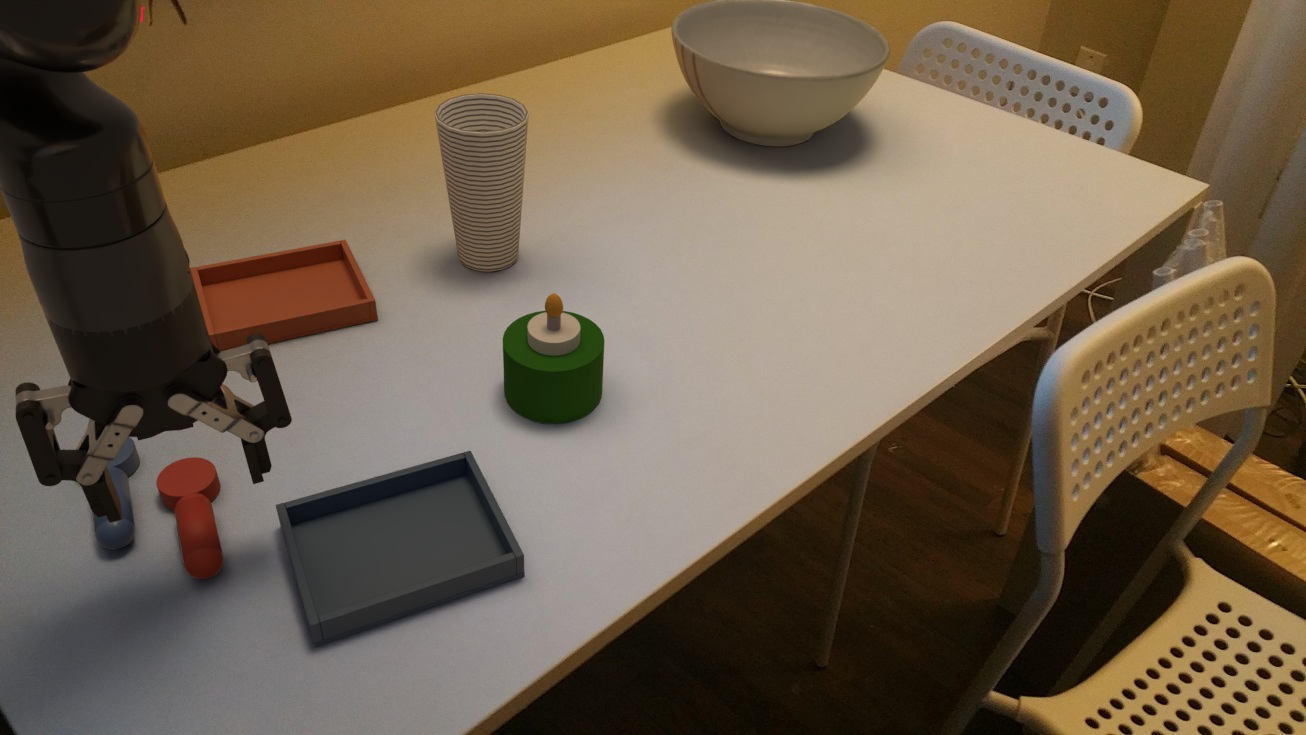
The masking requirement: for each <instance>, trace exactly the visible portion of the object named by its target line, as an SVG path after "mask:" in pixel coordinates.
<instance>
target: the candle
mask: <svg viewBox="0 0 1306 735" xmlns="http://www.w3.org/2000/svg"><path fill="white" fill-rule="evenodd" d="M502 360H503V361H502V362H503V388H504V398H505V402H506V403H507V405H508V406H509V408H510V409H511V410H512V411H513V412H514V413H516V414H517V415H519V416H521V417H523V418H525V419H527V420H529V421H532V422H535V423H540V424H554V425H555V424H564V423H565V424H566V423H570V422H574V421H577V420H580V419H582V418H584V417H586V416H588V415H590V414H591V413H592V412H593V411H595V410H596V408H597V407H598V405H599V404H600V402H601V399H602V397H603V396H602V395H603V382H604V381H603V380H604V360H605V336H604V333H603V331H602V329H601V328H600V327H599V326H598V324H596V323H595V322H594V321H592V320H591V319H590V318H588V317H586V316H584V315H581V314H579V313H575V312H573V311H567V310H564V304H563V301H562V298H561V297H560V295H558V294H557V293H554V292H553V293H551V294H549V295H548V296H547V298H546V300H545V303H544V310H540V311H534V312H531V313H527V314H525V315H522V316H521V317H518V318H517V319H514V321H512V322H511V323H510V324H509V325H508V326H507V327H506V329H505V331H504V332H503V336H502Z"/></svg>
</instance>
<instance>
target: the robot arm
mask: <svg viewBox="0 0 1306 735" xmlns="http://www.w3.org/2000/svg"><path fill="white" fill-rule="evenodd" d="M141 16H142V0H0V193H1V195H2V198H3V200H4V202H5V205H6V208H7V210H8V213H9V216H10V218H11V220H12V223H13V225H14V227H15V229H16V233H17V236H18V239H19V243H20V247H21V250H22V256H23V261H24V265H25V269H26V271H27V275H28V277H29V279H30V282H31V284H32V287H33V290H34V293H35V294H36V297H37V300H38V302H39V304H40V307H41V309H42V312H43V314H44V317H45V319H46V322H47V324H48V327H49V329H50V331H51V335H52V336H53V340H54V341H55V344H56V347H57V349H58V351H59V354H60V356H61V359H62V361H63V364H64V367H65V369H66V371H67V374H68V376H69V380H68V382H67V385H62V386H56V387H50V388H44V389H41V387H40V386H39V385H37V384H36V383H34V382H30V381H29V382H27V381H26V382H22V383H20V384H18V385H17V386H16V388H15V396H14V397H15V420H16V423H17V426H18V429H19V431H20V434H21V437H22V439H23V442H24V445H25V447H26V450H27V453H28V456H29V458H30V462H31V464H32V467H33V469H34V472H35V476H36V477H37V481H38V482H39V484H41V486H44V487H55V486H57V485H59V484H60V483H61V482H62V481H71V482H75V483H77V484H78V485H79V486H80V487H81V489H82V492H83V494H84V496H85V499H86V501H87V503H88V505H89V508H90V510H91V512H92V514H93V513H94V514H95V515H96V516H97V517H103V516H107V518H108V520H109V522H110V523H111V522H115V521H119V520H122V511H121V503H120V499H119V495H118V493H117V490H116V488H115V485H114V483H113V480H112V478H111V475H110V473H109V471H108V468H107V465H108V463H109V461H110V460H114V459H115V458H116V456H117V454H118V453H119V451H120V449H121V448H122V446H123V444H124V443H125V441H126V439H127V438H128V437H130V438H137V441H142V440H147V439H150V438H154V437H156V436H158V435H161V434H162V433H164V432H175V431H182V430H188V429H191V428H194V427H195V426H194V424H195V423H196V422H200V423H202V424H204V425H205V426H208V427H210V428H212V429H214V430H216V431H217V432H219V433H222V434H224V433H226V432H228V433H230V434H232V435H234V436H235V437H237V438H240V442H241V445H242V449H243V453H244V457H245V460H246V464H247V468H248V471H249V475H250V478H251V481H252V485H256V484H259V483H263V482H265V480H264V474H268V473H270V472H271V470H272V462H271V457H270V453H269V450H268V446H267V441H266V435H267V433H268V432H270V431H271V430H272V429H274V428H276V429H285V428H287V427H288V426H290V425H291V423H292V421H293V419H292V415H291V412H290V409H289V405H288V403H287V399H286V395H285V393H284V389H283V387H282V383H281V380H280V377H279V375H278V374H279V373H278V372H277V371H278V370H277V368H276V365H275V362H274V358H273V355H272V353H271V350H270V346H269V344H268V343H267V340H266V337H265V336H264V335H262V334H260V333H255V334H251V335H250V336H248V338H247V339H246V345H243V346H240V347H236V348H232V349H229V350H225V351H220V350H219V349H218V348H216V347H215V346H214V345H213V344H212V342H211V341H210V337H209V334H208V330H207V327H206V323H205V320H204V316H203V313H202V309H201V306H200V302H199V299H198V295H197V291H196V288H195V285H194V281H193V277H192V274H191V270H190V268H191V267H190V264H191V263H190V262H191V260H190V257H189V254H188V251H187V250H186V248H185V246H184V243H183V242H184V241H183V239H182V236H181V234H180V232H179V229H178V227H177V225H176V223H175V221H174V219H173V216H172V215H171V214H172V213H171V212H170V210H169V207H168V204H167V201H166V197H165V194H164V190H163V187H162V183H161V180H160V175H159V173H158V170H157V166H156V163H155V159H154V156H153V152H152V148H151V145H150V142H149V139H148V136H147V133H146V131H145V129H144V126H143V124H142V122H141V119H140V118H139V116H138V115H137V113H136V112H135V111H134V110H133V109H132V108H131V107H130V106H129V105H128V104H127V103H125V102H124V101H122V100H121V99H120V98H118V97H116V96H115V95H114V94H112V93H111V92H109V91H108V90H106V89H105V88H103V87H101V86H100V85H98V84H97V83H96V82H95V81H94V80H91V78H89V76H88V75H87V74H86V73H87V72H91V71H95V70H98V69H101V68H103V67H106V66H108V65H109V64H112V63H113V62H115V61H116V60H118V59H119V58H120V57H121V56H122V55H123V54H124V53H125V52H126V51H127V50H128V49H129V47H130V46H131V45H132V43H133V41H134V39H135V38H136V35H137V33H138V30H139V27H140V23H141ZM228 372H237V373H238V374H240V376H241V377H242V379H244V380H246V381H249V382H250V383H256V382H257V383H258V386H259V389H260V392H261V395H262V398H263V400H262V401H261V402H259V403H257V404H255V405H254V404H252V403H250V402H248V401H246V400H245V399H243V398H242V397H240V396H237V395H236V394H235V393H233V391H232V390H231V388H229V386H227V385H225V384H224V382H225V380H226V378H227V376H228ZM70 408H71V409H72V410H73V411H74V412H76V413H78V414H79V415H81V416H83V417H86V418H87V419H88V423H87V427H86V430H85V432H84V434H83V435H82V437H81V439H80V440H79V442H78V444H77V446H76V447H75V449H61V446H60V443H59V440H58V437H57V435H56V432H55V428H56V426H58V425H59V424H60V423H61V421H62V414H63V412H64V411H66V410H67V409H70Z"/></svg>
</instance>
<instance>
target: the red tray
mask: <svg viewBox="0 0 1306 735" xmlns="http://www.w3.org/2000/svg"><path fill="white" fill-rule="evenodd" d="M190 270H191V274H192V277H193V281H194V285H195V288H196V291H197V295H198V299H199V302H200V306H201V309H202V313H203V316H204V320H205V323H206V327H207V330H208V334H209V337H210V341H211V342H212V344H213V345H214V346H215V347H216V348H218V349H219V350H220V351H225V350H229V349H232V348H236V347H240V346H243V345H246V339H247V338H248V336H250V335H251V334H255V333H260V334H262V335H264V336H265V337H266V340H267V343H268V345H269V344H273V343H279V342H282V341H283V342H284V341H287V340H292V339H297V338H302V337H306V336H311V335H315V334H320V333H324V332H328V331H333V330H337V329H343V328H347V327H352V326H357V325H361V324H365V323H366V324H367V323H369V322H376V321H378V320H379V317H378V309H377V302H376V299H375V296H374V295H373V292H372V290H371V288H370V286H369V283H368V282H367V280H366V278H365V276H364V274H363V272H362V270H361V268H360V265H359V264H358V261H357V260H356V258H355V255H354V254H353V251H352V249H351V247H350V245H349V244H348V240H347V239H340V240H336V241H329V242H324V243H318V244H314V245H309V246H303V247H297V248H292V249H287V250H281V251H275V252H270V253H264V254H259V255H253V256H247V257H242V258H238V259H232V260H227V261H221V262H216V263H210V264H205V265H200V266H193V267H190Z"/></svg>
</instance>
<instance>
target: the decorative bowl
mask: <svg viewBox="0 0 1306 735" xmlns="http://www.w3.org/2000/svg"><path fill="white" fill-rule="evenodd" d="M670 29H671V30H670V31H671V40H672V45H673V49H674V54H675V57H676V60H677V63H678V66H679V68H680V72H681V74H682V76H683V78H684V80H685V82H686V84H687V86H688V88H689V89H690V90H691V92H692V94H693V95H694V97H695V98H696V99H697V101H698V102H699V103H700V104H701V105H702V107H704V109H705V110H707V111H708V112H709V113H710V114H711V115H712V116H714V117H715V118H716V119H718V120H719V124H720V126H721V128H722V129H723V130H724V131H725V132H726V133H727V134H729V135H730V136H732V137H734V138H736V139H738V140H740V141H743V142H747V143H748V144H749V143H750V144H754V145H759V146H764V147H765V146H766V147H789V146H795V145H799V144H803V143H804V142H807V141H809V140H810V139H811V138H812V137H813V135H814V134H815V133H816V132H819V131H821V130H823V129H826V128H828V127H830V126H832V125H833V124H835V123H837V122H838V121H840V120H841V119H843V118H844V117H845V116H846V115H848V114H849V113H850V112H851V111H852V110H854V108H856V107H857V106H858V105H859V104H860V102H862V100H863V99H864V98H865V97H866V96H867V94H868V93H869V92H870V90H871V89H872V88H873V87H874V85H875V84H876V82H877V80H878V79H879V78H880V76H881V75H882V72H883V70H884V69H885V66H886V64H887V63H888V60H889V57H890V53H891V47H890V43H889V42H888V40H887V38H886V37H885V35H884V34H882V32H880V31H879V30H878V29H877V28H876V27H874V26H872V25H871V24H869V23H867V22H866V21H864V20H862V19H860V18H858V17H856V16H853V15H851V14H849V13H846V12H843V11H840V10H837V9H834V8H830V7H827V6H823V5H818V4H815V3H809V2H804V1H799V0H798V1H797V0H709V1H704V2H701V3H698V4H695V5H692V6H690V7H687V8H686V9H684V10H683V11H681V12H679V13H678V14H677V15H676V16H675V18H674V19H673V21H672V23H671V28H670Z"/></svg>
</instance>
